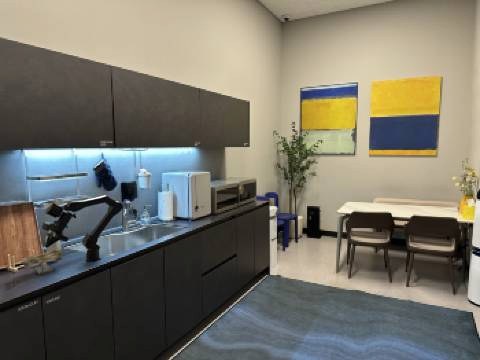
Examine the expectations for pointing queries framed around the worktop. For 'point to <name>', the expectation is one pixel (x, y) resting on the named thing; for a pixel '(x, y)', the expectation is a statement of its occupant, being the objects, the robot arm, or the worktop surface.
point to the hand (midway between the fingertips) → (46, 247)
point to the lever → (42, 258)
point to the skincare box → (53, 247)
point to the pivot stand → (44, 268)
